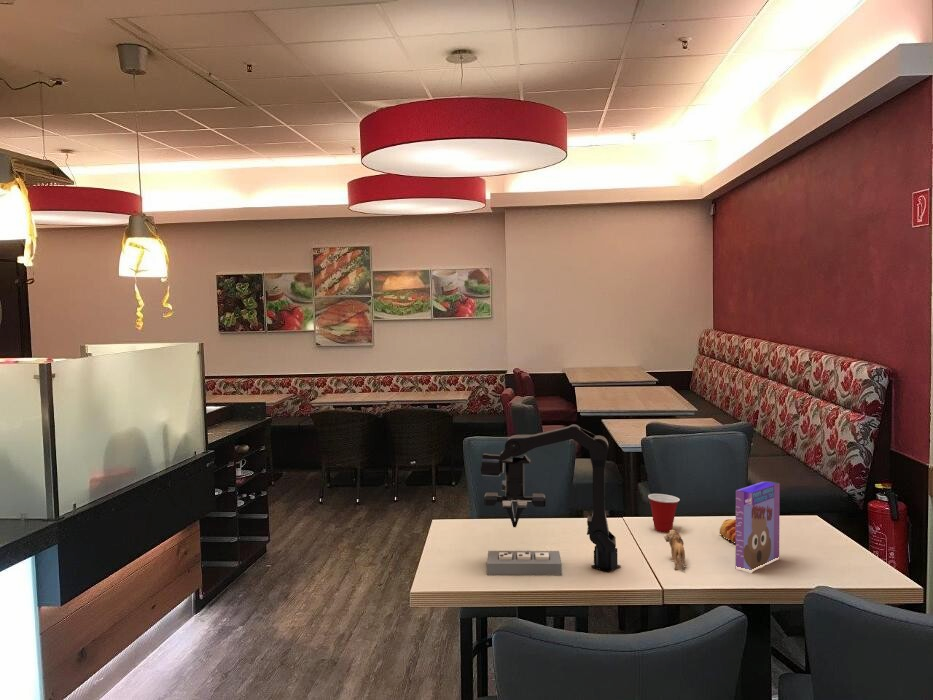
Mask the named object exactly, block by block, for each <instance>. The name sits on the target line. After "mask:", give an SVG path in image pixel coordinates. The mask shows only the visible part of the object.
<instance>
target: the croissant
mask: <svg viewBox="0 0 933 700" xmlns="http://www.w3.org/2000/svg"><path fill="white" fill-rule="evenodd" d="M720 534H721V535H720ZM719 535H720V536H722V535H723V536H722V538H723V537H725V538H727V539H729V540H731V541H733V542H735V543H734V544H736V518H734V519H733V518H731V519H726V520H724V521H723V522H722V524H721V526H720V528H719ZM725 538H724V539H725ZM727 539H726V540H727ZM729 540H728V541H729ZM731 541H730V542H731ZM733 542H732V543H733Z"/></svg>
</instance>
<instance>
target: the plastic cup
mask: <svg viewBox="0 0 933 700" xmlns="http://www.w3.org/2000/svg"><path fill="white" fill-rule="evenodd" d="M647 497H648V500H649V503H650V505H649V506H650V511H651V514H652V515H651V516H652V521H653V522H652V523H653V527H654V531H655V532H659V533H669V531H670V530H673V527H674V521H675V516H676V512H677V511H676V510H677V507H678V503H679V502H680V500H681V499H680V498H679V497H677V496H674V495H669V494H664V493H649V494H648V496H647Z"/></svg>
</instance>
